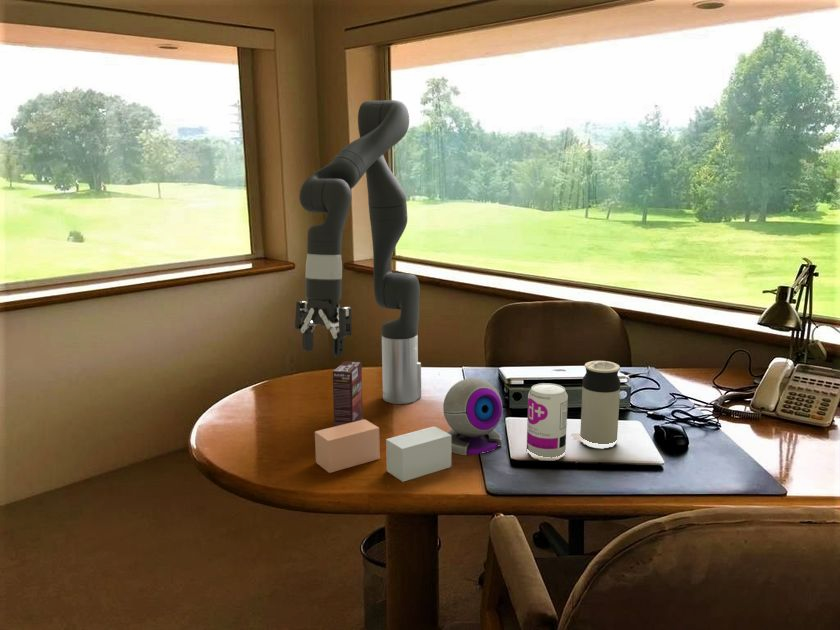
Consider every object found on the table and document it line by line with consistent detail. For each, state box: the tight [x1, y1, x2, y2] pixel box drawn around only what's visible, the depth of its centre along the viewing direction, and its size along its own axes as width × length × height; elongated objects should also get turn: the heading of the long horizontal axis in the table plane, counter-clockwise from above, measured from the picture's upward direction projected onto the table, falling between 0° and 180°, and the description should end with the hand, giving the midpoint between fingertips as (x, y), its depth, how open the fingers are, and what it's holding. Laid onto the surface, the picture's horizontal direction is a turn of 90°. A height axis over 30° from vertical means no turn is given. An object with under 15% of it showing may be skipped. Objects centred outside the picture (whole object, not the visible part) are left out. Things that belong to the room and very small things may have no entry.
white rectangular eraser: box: [385, 426, 452, 483], centre depth 150 cm, size 12×6×7 cm, turn 124°
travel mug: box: [579, 360, 621, 444], centre depth 161 cm, size 8×8×18 cm
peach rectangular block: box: [314, 418, 381, 474], centre depth 154 cm, size 12×6×7 cm, turn 124°
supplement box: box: [332, 360, 364, 427], centre depth 169 cm, size 9×5×16 cm, turn 168°
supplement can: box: [526, 382, 569, 458], centre depth 155 cm, size 8×8×15 cm
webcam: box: [442, 377, 503, 456], centre depth 162 cm, size 13×13×15 cm
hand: (322, 353), depth 154 cm, fingers open, 8 cm apart
